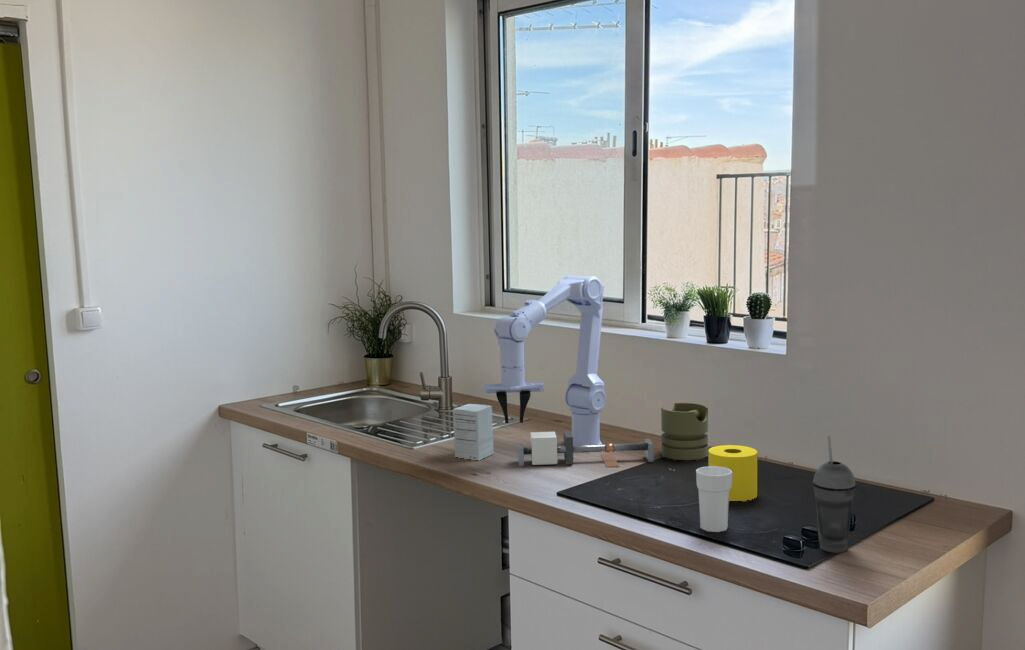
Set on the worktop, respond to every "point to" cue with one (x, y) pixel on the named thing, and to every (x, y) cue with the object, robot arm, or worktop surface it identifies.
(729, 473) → the cup
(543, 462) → the sleeve
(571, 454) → the dark grey flat block
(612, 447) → the pipe rig
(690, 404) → the piston
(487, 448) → the supplement box
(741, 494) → the yellow toilet paper roll
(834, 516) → the beverage cup
